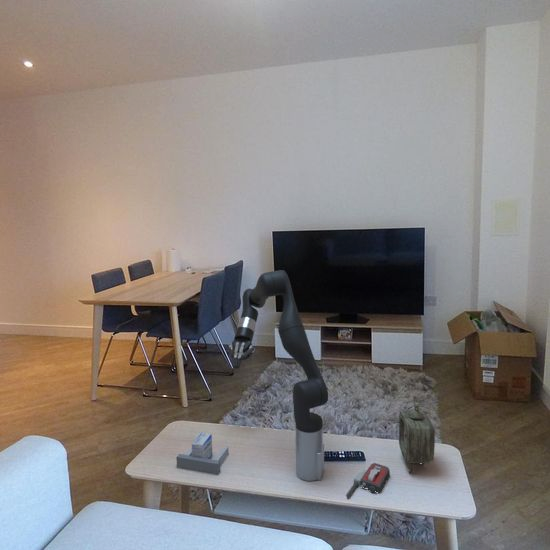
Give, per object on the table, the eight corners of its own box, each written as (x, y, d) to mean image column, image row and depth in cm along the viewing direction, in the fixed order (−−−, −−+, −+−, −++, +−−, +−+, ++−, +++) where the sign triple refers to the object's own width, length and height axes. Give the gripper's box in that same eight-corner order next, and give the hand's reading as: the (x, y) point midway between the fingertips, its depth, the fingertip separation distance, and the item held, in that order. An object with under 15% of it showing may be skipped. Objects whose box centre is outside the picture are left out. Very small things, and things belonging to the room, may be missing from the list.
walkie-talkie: (367, 466, 145) (343, 499, 129) (367, 454, 145) (343, 486, 128) (391, 474, 141) (370, 509, 124) (391, 462, 140) (371, 496, 123)
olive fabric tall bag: (398, 452, 153) (399, 388, 150) (423, 453, 152) (425, 389, 149) (406, 476, 139) (408, 406, 135) (434, 477, 138) (437, 407, 134)
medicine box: (203, 468, 145) (203, 445, 144) (192, 466, 147) (191, 443, 145) (212, 455, 153) (212, 433, 152) (201, 453, 154) (200, 432, 153)
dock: (232, 454, 153) (231, 444, 153) (218, 474, 141) (217, 464, 141) (193, 448, 158) (193, 438, 157) (176, 467, 146) (176, 456, 145)
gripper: (228, 325, 173) (217, 362, 164) (258, 326, 170) (248, 365, 160) (233, 333, 179) (223, 370, 169) (262, 335, 175) (253, 373, 165)
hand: (235, 368), depth 165 cm, fingers closed
